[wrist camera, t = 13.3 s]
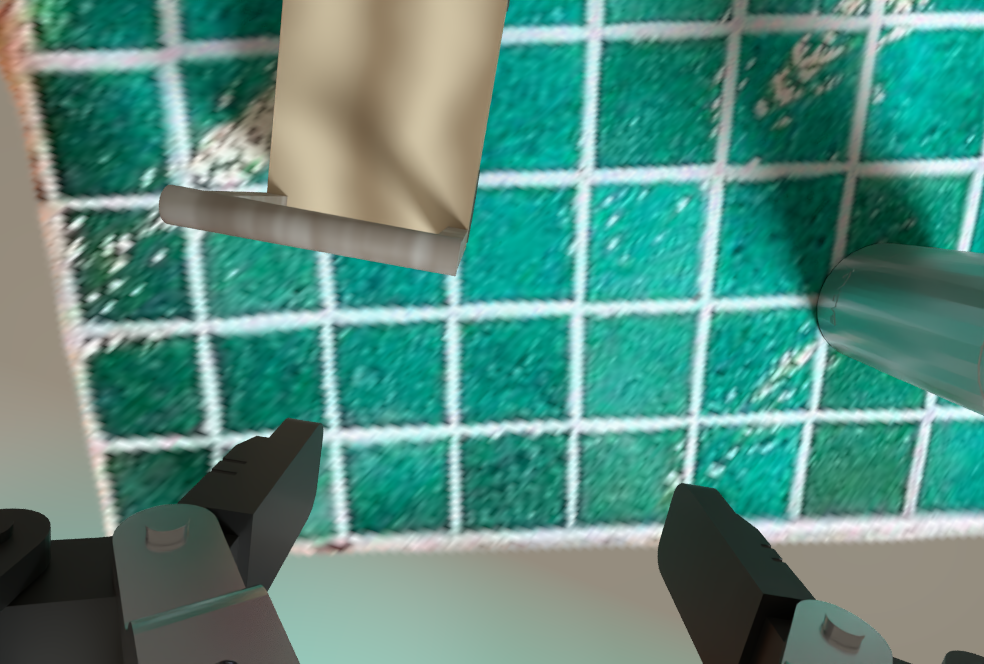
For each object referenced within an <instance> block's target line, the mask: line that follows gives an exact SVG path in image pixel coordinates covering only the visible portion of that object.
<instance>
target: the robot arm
mask: <svg viewBox="0 0 984 664" xmlns="http://www.w3.org/2000/svg"><path fill="white" fill-rule="evenodd" d="M817 317H818V322H819V327H820V330H821V332H822V334H823V336H824V338H825V339H826V340H827V342H828V343H829V344H830V345H831V346H832V347H833V348H834V349H836V350H837V351H838V352H840V353H841V354H844V355H846V356H848V357H851V358H853V359H855V360H857V361H860V362H862V363H864V364H867V365H869V366H871V367H873V368H876V369H878V370H880V371H882V372H884V373H887V374H889V375H891V376H893V377H896V378H898V379H900V380H903V381H905V382H907V383H910V384H912V385H914V386H917V387H919V388H921V389H923V390H926V391H928V392H930V393H933V394H935V395H937V396H940V397H942V398H944V399H947V400H949V401H951V402H953V403H956V404H958V405H960V406H963V407H965V408H967V409H970V410H972V411H974V412H977V413H979V414H981V415H983V416H984V253H975V252H966V251H957V250H948V249H939V248H932V247H922V246H913V245H904V244H894V243H879V244H875V245H871V246H866V247H864V248H862V249H860V250H857V251H855V252H853V253H852V254H850V255H849V256H848V257H846V258H845V259H843V260H842V261H841V262H840V263H839V264H838V265H837V266H836V267H835V268H834V269H833V270H832V272H831V273H830V275H829V276H828V278H827V279H826V281H825V283H824V285H823V287H822V290H821V292H820V296H819V300H818V304H817ZM322 440H323V425H322V423H316V422H310V421H303V420H297V419H291V418H287V419H286V420H285V421H284V422H283V423H282V424H281V425H280V426H279V427H278V428H277V429H276V431H275V432H274V433H273V434H272V435H271V436H270V437H269V438H267V437H260V436H256V437H253V438H251V439H249V440H247V441H244V442H242V443H240V444H238V445H236V446H235V447H234V448H233V449H232V450H231V451H230V452H229V453H228V454H227V455H226V456H225V457H224V458H223V460H222V461H219V462H218V463H217V464H216V465H215V466H214V467H213V468H212V471H211V472H208V473H207V474H206V475H205V476H204V477H203V478H202V479H201V480H200V481H199V482H198V483H197V484H196V485H195V486H194V487H193V488H192V489H191V490H190V491H189V492H188V493H187V494H186V495H185V496H184V497H183V498H182V499H181V500H180V501H179V502H178V503H177V504H168V505H161V506H156V507H152V508H149V509H146V510H143V511H140V512H138V513H136V514H134V515H132V516H130V517H129V518H127V519H126V520H124V521H123V522H122V523H121V524H120V525H119V526H118V527H117V528H116V530H115V531H114V534H113V536H110V537H100V538H85V539H66V540H51V527H50V522H49V519H48V518H47V517H45V515H43V514H41V513H39V512H35V511H32V510H26V509H0V664H300V663H299V661H298V658H297V656H296V654H295V652H294V650H293V647H292V646H291V643H290V641H289V639H288V636H287V634H286V632H285V630H284V628H283V626H282V623H281V621H280V619H279V617H278V615H277V612H276V610H275V608H274V606H273V604H272V601H271V599H270V597H269V595H268V593H267V591H268V590H269V588H270V586H271V584H272V583H273V581H274V579H275V577H276V575H277V573H278V571H279V570H280V568H281V566H282V564H283V562H284V561H285V559H286V557H287V555H288V554H289V552H290V550H291V548H292V546H293V545H294V543H295V541H296V539H297V537H298V535H299V534H300V532H301V530H302V528H303V526H304V525H305V523H306V521H307V519H308V517H309V515H310V512H311V510H312V507H313V503H314V500H315V495H316V490H317V482H318V474H319V465H320V457H321V449H322ZM658 565H659V570H660V573H661V575H662V577H663V579H664V581H665V584H666V586H667V588H668V590H669V592H670V594H671V596H672V599H673V600H674V603H675V605H676V607H677V609H678V611H679V613H680V615H681V618H682V620H683V622H684V624H685V626H686V628H687V630H688V633H689V635H690V637H691V639H692V641H693V643H694V645H695V647H696V649H697V651H698V654H699V656H700V658H701V660H702V662H703V664H911V663H908V662H905V661H902V660H900V659H897V658H894V657H893V656H892V651H891V649H890V647H889V646H888V644H887V642H886V641H885V640H884V639H883V637H882V636H881V635H880V634H879V633H878V632H877V631H876V630H875V629H874V628H872V627H871V626H870V625H869V624H867V623H866V622H864V621H863V620H862V619H860V618H859V617H857V616H856V615H854V614H852V613H850V612H848V611H847V610H845V609H842V608H840V607H838V606H836V605H833V604H830V603H827V602H823V601H818V600H816V599H815V598H814V597H813V596H812V594H811V593H810V592H809V591H808V590H807V588H806V587H805V586H804V585H803V583H802V582H801V581H800V580H799V579H798V577H797V576H796V575H795V574H794V573H793V571H792V570H791V569H790V568H789V567H788V565H787V564H786V563H784V562H782V558H781V557H780V556H779V555H778V554H777V552H776V551H775V550H774V549H771V545H770V544H769V542H768V541H767V540H766V539H765V538H764V536H763V535H762V534H761V533H760V532H759V530H758V529H756V528H755V527H754V526H752V525H751V524H750V523H748V522H747V521H746V520H744V519H743V518H742V517H740V516H739V515H738V514H736V513H735V512H734V511H733V509H732V508H731V507H730V506H729V504H728V503H727V502H726V501H725V499H724V498H723V497H722V496H721V494H720V493H719V492H718V491H717V490H716V489H714V488H709V487H703V486H697V485H691V484H684V483H681V484H679V485H678V486H677V487H676V489H675V491H674V494H673V497H672V501H671V504H670V508H669V511H668V514H667V518H666V521H665V525H664V528H663V531H662V535H661V538H660V542H659V546H658ZM942 664H984V657H982V656H979V655H976V654H973V653H969V652H965V651H951V652H948V653H947V654H946V656H945V658H944V660H943V662H942Z"/></svg>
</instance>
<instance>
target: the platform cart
mask: <svg viewBox="0 0 984 664" xmlns="http://www.w3.org/2000/svg"><path fill="white" fill-rule="evenodd" d="M509 1H510V0H283V6H282V18H281V30H280V42H279V55H278V67H277V79H276V91H275V103H274V115H273V127H272V139H271V151H270V163H269V175H268V188H267V193H263V192H230V191H202V190H197V189H192V188H186V187H181V186H176V185H168V186H166V187H165V188H164V189H163V191H162V193H161V196H160V200H159V212H160V216H161V218H162V220H163V221H164V222H165V223H166V224H171V225H176V226H182V227H187V228H193V229H198V230H204V231H209V232H215V233H220V234H226V235H231V236H237V237H242V238H248V239H253V240H259V241H264V242H270V243H275V244H281V245H286V246H292V247H297V248H303V249H308V250H314V251H319V252H325V253H331V254H336V255H342V256H347V257H353V258H358V259H364V260H369V261H375V262H380V263H386V264H391V265H397V266H402V267H408V268H413V269H419V270H424V271H430V272H435V273H441V274H446V275H452V276H456V272H457V268H458V266H459V263H460V260H461V258H462V255H463V253H464V250H465V248H466V243H467V242H468V238H469V232H470V227H471V222H472V216H473V210H474V204H475V199H476V193H477V187H478V180H479V173H480V170H479V167H480V161H481V155H482V149H483V143H484V138H485V132H486V126H487V120H488V114H489V108H490V103H491V97H492V91H493V85H494V79H495V73H496V68H497V62H498V56H499V50H500V44H501V39H502V33H503V27H504V21H505V15H506V11H508V6H509Z"/></svg>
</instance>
